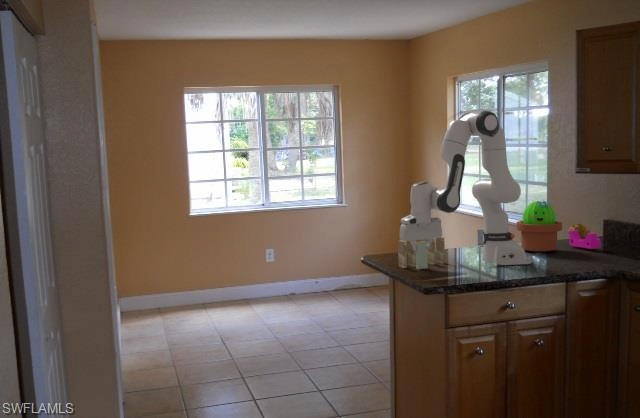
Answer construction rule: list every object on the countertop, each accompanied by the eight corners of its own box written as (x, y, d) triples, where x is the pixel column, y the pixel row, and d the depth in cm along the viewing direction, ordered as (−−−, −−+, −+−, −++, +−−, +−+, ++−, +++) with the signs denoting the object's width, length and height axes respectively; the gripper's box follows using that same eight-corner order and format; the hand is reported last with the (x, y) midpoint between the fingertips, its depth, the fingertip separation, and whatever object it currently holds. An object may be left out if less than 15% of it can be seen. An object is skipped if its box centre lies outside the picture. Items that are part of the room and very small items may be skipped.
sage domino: (416, 268, 296) (415, 242, 295) (425, 267, 298) (425, 241, 297) (417, 269, 295) (417, 242, 294) (427, 268, 297) (427, 241, 296)
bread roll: (564, 235, 380) (564, 221, 379) (578, 234, 383) (578, 220, 382) (578, 238, 368) (578, 223, 367) (593, 237, 370) (593, 222, 369)
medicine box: (493, 244, 356) (493, 228, 355) (492, 245, 352) (492, 229, 351) (478, 244, 359) (478, 228, 358) (477, 245, 355) (477, 229, 354)
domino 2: (429, 262, 310) (429, 237, 309) (435, 264, 305) (435, 238, 304) (426, 263, 309) (426, 237, 308) (432, 264, 305) (432, 238, 304)
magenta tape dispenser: (600, 247, 336) (600, 233, 335) (590, 248, 333) (590, 234, 333) (578, 243, 350) (578, 229, 349) (569, 245, 347) (569, 230, 346)
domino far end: (401, 265, 304) (401, 240, 303) (407, 267, 300) (406, 241, 299) (398, 266, 304) (397, 240, 303) (403, 268, 299) (403, 241, 298)
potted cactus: (516, 245, 351) (516, 198, 348) (560, 245, 345) (560, 197, 342) (516, 252, 330) (516, 202, 327) (563, 252, 324) (563, 201, 321)
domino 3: (438, 261, 312) (438, 236, 311) (444, 263, 307) (444, 237, 306) (436, 262, 311) (435, 236, 310) (441, 263, 307) (441, 237, 305)
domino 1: (411, 264, 306) (410, 239, 305) (416, 266, 302) (416, 240, 300) (408, 265, 306) (407, 239, 304) (413, 266, 301) (413, 240, 300)
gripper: (437, 216, 301) (437, 246, 303) (397, 219, 294) (398, 250, 295) (444, 217, 295) (445, 248, 297) (404, 221, 288) (405, 252, 289)
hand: (421, 249), depth 296 cm, fingers closed on sage domino, 5 cm apart
